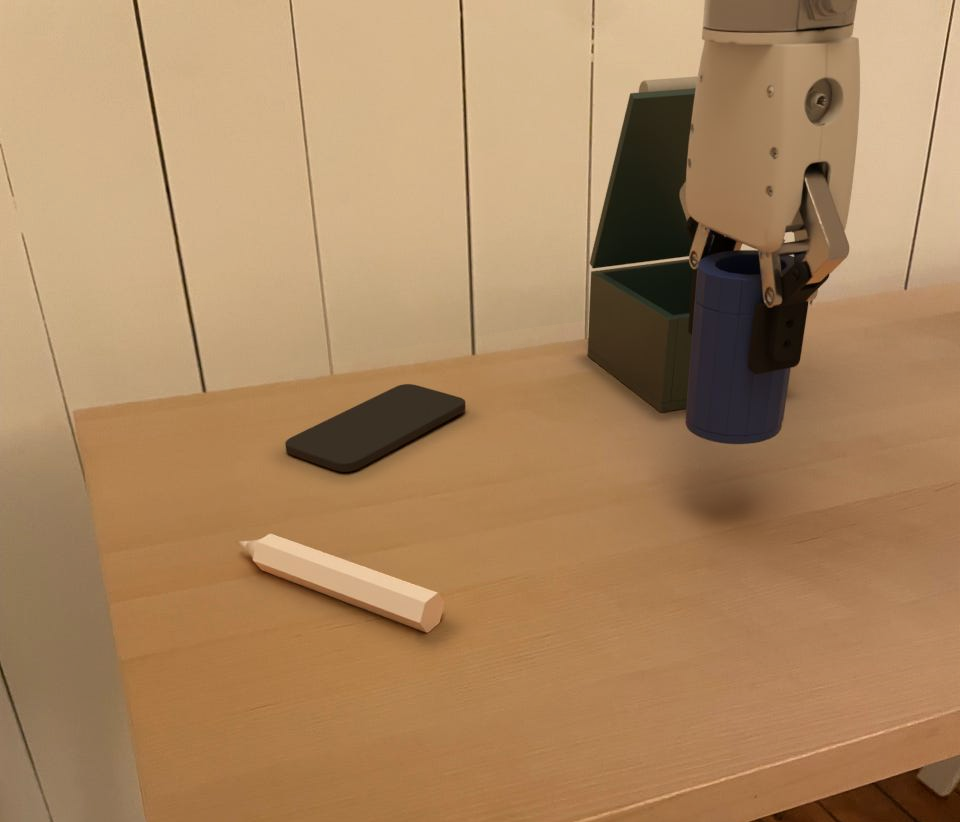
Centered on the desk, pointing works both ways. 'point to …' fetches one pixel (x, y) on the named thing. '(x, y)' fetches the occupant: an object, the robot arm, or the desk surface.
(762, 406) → the jar
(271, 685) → the desk surface
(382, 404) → the phone
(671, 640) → the desk surface
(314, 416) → the desk surface
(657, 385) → the chest
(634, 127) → the lid
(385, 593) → the wooden pencil
